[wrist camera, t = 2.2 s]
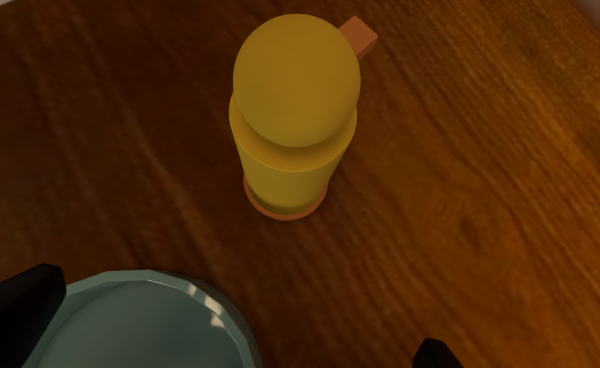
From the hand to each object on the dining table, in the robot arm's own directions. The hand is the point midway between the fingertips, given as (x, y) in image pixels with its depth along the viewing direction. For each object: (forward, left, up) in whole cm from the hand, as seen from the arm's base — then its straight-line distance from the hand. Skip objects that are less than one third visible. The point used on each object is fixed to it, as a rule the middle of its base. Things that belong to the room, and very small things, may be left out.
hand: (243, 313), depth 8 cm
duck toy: (+6, -4, -13) cm, 15 cm away
